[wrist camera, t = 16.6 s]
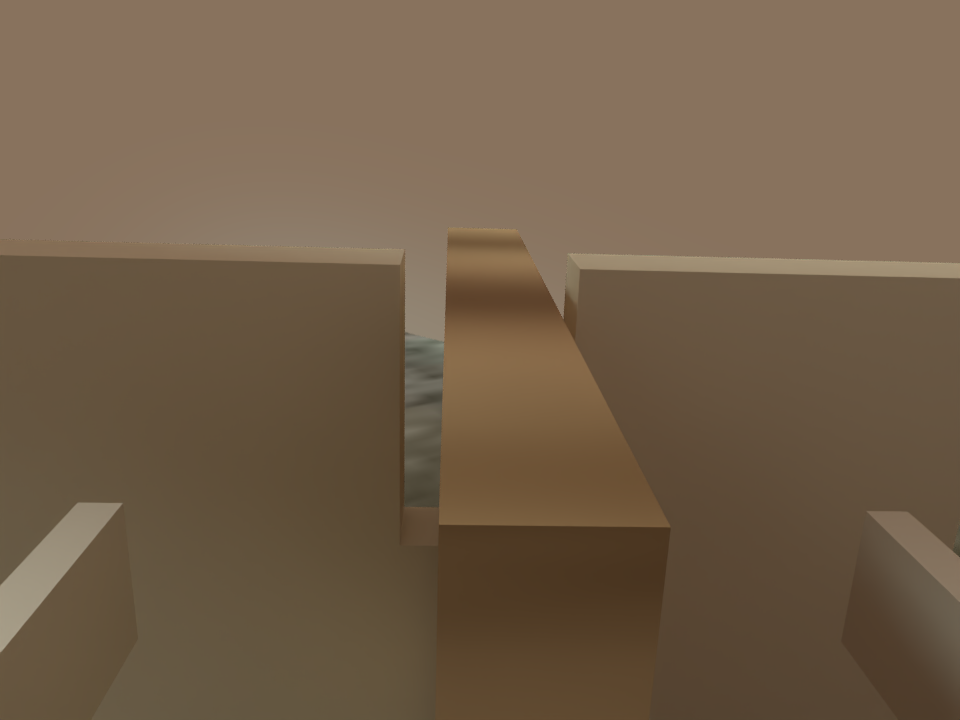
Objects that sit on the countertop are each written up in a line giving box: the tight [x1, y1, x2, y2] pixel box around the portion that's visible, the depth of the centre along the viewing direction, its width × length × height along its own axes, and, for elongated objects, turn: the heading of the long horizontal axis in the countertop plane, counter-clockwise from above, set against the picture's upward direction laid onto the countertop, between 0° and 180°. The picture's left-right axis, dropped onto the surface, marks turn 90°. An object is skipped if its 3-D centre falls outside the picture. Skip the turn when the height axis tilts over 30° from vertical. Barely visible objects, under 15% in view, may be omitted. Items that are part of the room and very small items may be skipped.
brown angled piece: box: [435, 228, 671, 720], centre depth 17 cm, size 18×6×14 cm, turn 2°
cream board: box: [0, 239, 960, 720], centre depth 21 cm, size 24×2×14 cm, turn 92°
